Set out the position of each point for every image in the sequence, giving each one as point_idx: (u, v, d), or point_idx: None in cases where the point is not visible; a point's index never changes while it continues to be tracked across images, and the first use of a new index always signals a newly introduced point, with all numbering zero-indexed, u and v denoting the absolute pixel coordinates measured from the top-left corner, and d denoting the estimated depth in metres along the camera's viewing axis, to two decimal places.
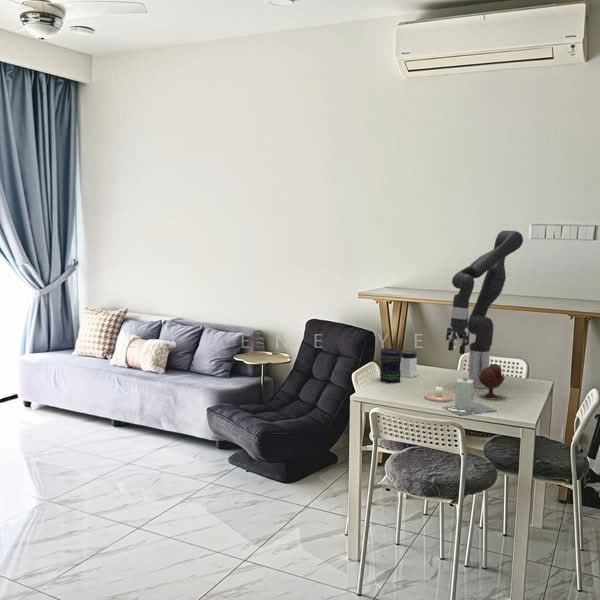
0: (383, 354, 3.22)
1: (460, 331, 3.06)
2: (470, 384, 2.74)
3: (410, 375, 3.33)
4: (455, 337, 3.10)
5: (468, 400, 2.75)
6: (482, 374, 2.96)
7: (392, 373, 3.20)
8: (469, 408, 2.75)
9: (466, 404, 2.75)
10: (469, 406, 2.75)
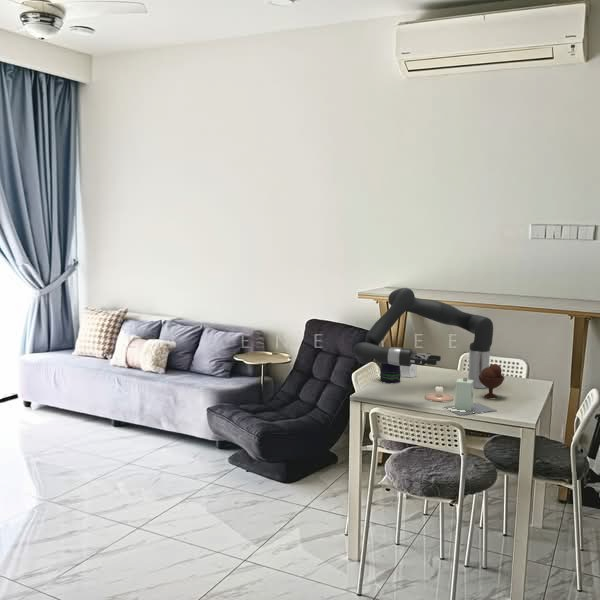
0: None
1: None
2: (470, 384, 2.74)
3: (410, 375, 3.33)
4: None
5: (468, 400, 2.75)
6: (482, 374, 2.96)
7: (392, 373, 3.20)
8: (469, 408, 2.75)
9: (466, 404, 2.75)
10: (469, 406, 2.75)
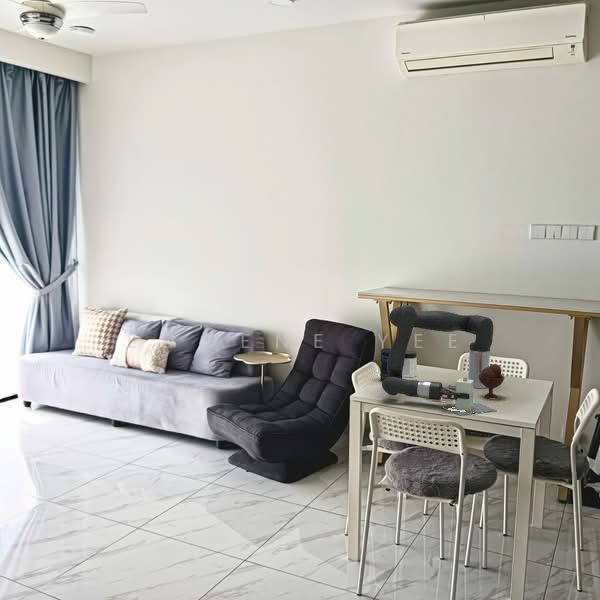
0: (383, 354, 3.22)
1: None
2: (470, 384, 2.74)
3: (410, 375, 3.33)
4: None
5: (468, 400, 2.75)
6: (482, 374, 2.96)
7: None
8: (469, 408, 2.75)
9: (466, 404, 2.75)
10: (469, 406, 2.75)
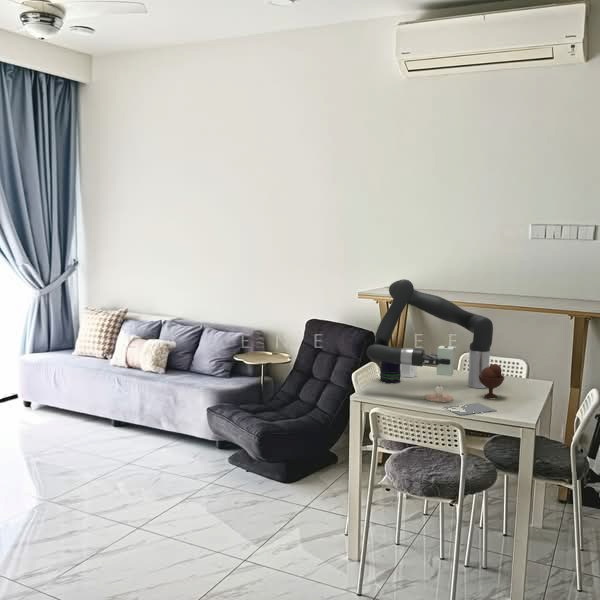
0: None
1: None
2: (451, 350, 2.86)
3: (410, 375, 3.33)
4: None
5: (449, 365, 2.87)
6: (482, 374, 2.96)
7: (392, 373, 3.20)
8: (450, 373, 2.87)
9: (447, 369, 2.87)
10: (450, 371, 2.87)
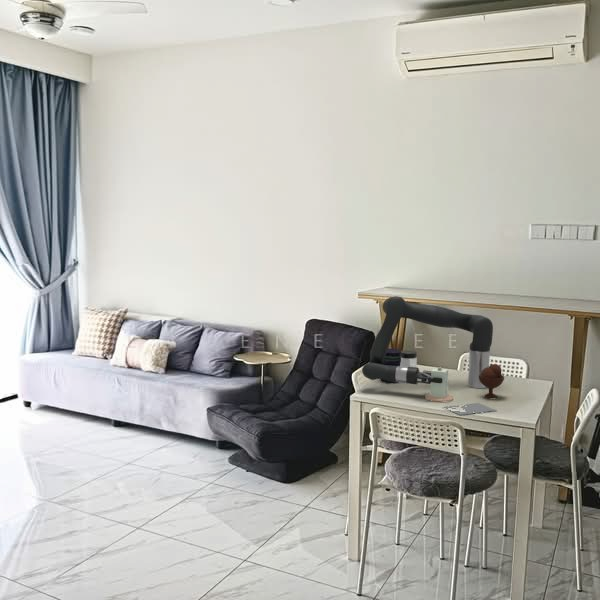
0: None
1: None
2: (444, 373, 2.90)
3: None
4: None
5: (442, 388, 2.91)
6: (482, 374, 2.96)
7: None
8: (443, 396, 2.91)
9: (440, 392, 2.92)
10: (443, 394, 2.91)
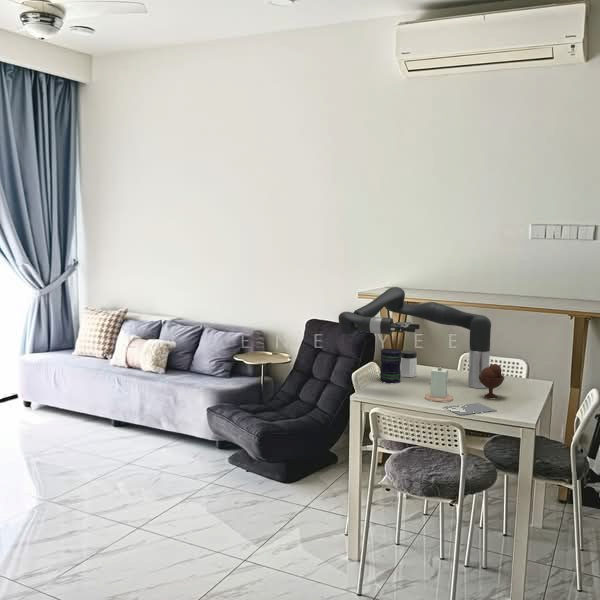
0: (383, 354, 3.22)
1: None
2: (444, 373, 2.90)
3: (410, 375, 3.33)
4: None
5: (442, 388, 2.91)
6: (482, 374, 2.96)
7: (392, 373, 3.20)
8: (443, 396, 2.91)
9: (440, 392, 2.92)
10: (443, 394, 2.91)
